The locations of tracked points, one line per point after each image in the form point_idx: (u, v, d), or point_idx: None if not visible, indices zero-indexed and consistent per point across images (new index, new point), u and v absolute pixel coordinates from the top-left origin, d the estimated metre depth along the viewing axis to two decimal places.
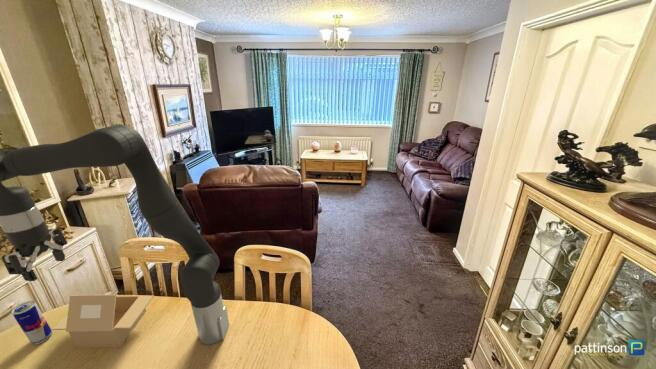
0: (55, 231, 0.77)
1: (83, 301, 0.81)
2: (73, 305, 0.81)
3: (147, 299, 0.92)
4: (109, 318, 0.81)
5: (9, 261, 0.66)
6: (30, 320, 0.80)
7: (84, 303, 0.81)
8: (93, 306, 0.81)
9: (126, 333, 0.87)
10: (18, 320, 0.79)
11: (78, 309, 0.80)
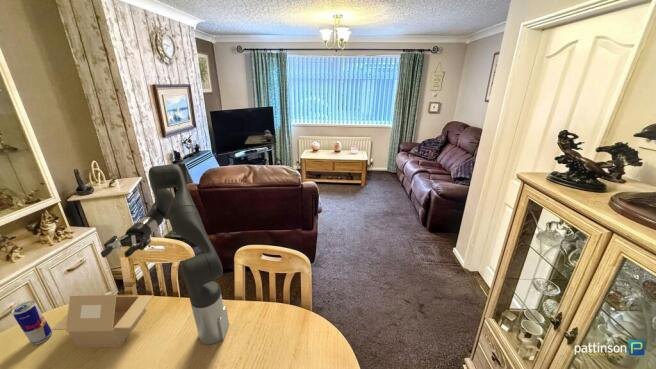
0: None
1: (83, 301, 0.81)
2: (73, 305, 0.81)
3: (147, 299, 0.92)
4: (109, 318, 0.81)
5: None
6: (30, 320, 0.80)
7: (84, 303, 0.81)
8: (93, 306, 0.81)
9: (126, 333, 0.87)
10: (18, 320, 0.79)
11: (78, 309, 0.80)
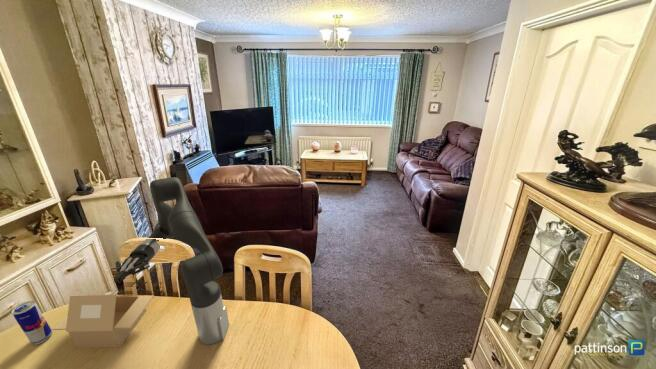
0: None
1: (83, 301, 0.81)
2: (73, 305, 0.81)
3: (147, 299, 0.92)
4: (109, 318, 0.81)
5: (116, 265, 0.98)
6: (30, 320, 0.80)
7: (84, 303, 0.81)
8: (93, 306, 0.81)
9: (126, 333, 0.87)
10: (18, 320, 0.79)
11: (78, 309, 0.80)
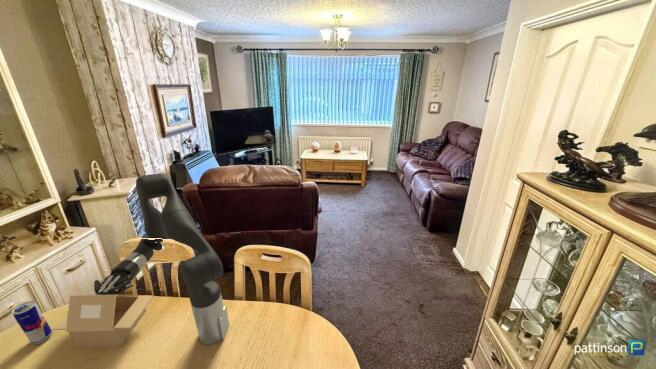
0: None
1: (83, 301, 0.81)
2: (73, 305, 0.81)
3: (147, 299, 0.92)
4: (109, 318, 0.81)
5: None
6: (30, 320, 0.80)
7: (84, 303, 0.81)
8: (93, 306, 0.81)
9: (126, 333, 0.87)
10: (18, 320, 0.79)
11: (78, 309, 0.80)
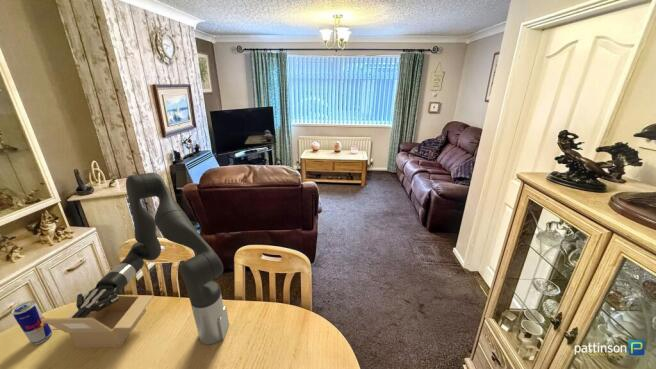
0: None
1: (60, 322, 0.74)
2: (53, 324, 0.74)
3: (147, 299, 0.92)
4: (101, 327, 0.78)
5: None
6: (30, 320, 0.80)
7: (63, 322, 0.74)
8: (75, 323, 0.75)
9: (126, 333, 0.87)
10: (18, 320, 0.79)
11: (62, 325, 0.75)
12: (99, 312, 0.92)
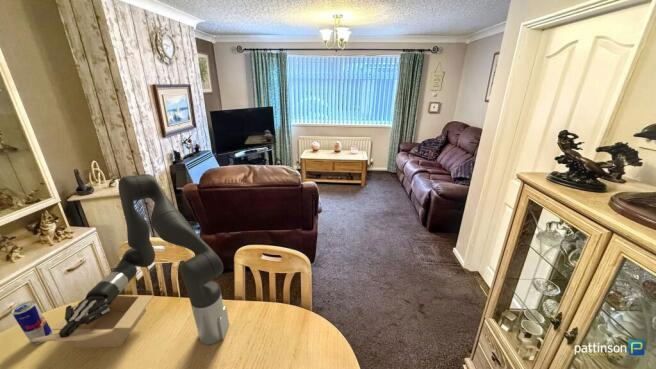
0: None
1: None
2: None
3: (147, 299, 0.92)
4: (99, 334, 0.77)
5: None
6: (30, 320, 0.80)
7: None
8: None
9: (126, 333, 0.87)
10: (18, 320, 0.79)
11: None
12: None
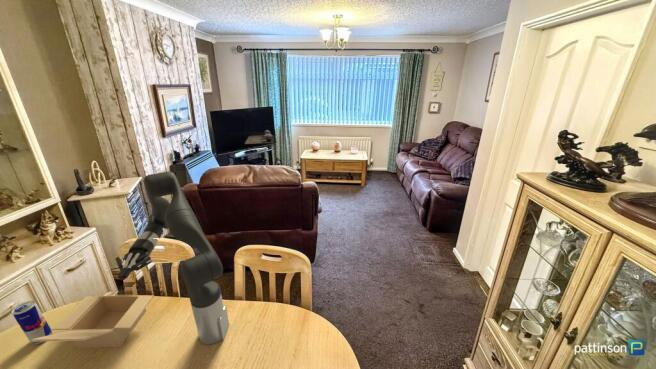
0: None
1: None
2: None
3: (147, 299, 0.92)
4: (99, 334, 0.77)
5: (116, 261, 0.97)
6: (29, 320, 0.80)
7: None
8: None
9: (126, 333, 0.87)
10: (18, 320, 0.79)
11: None
12: (99, 312, 0.92)
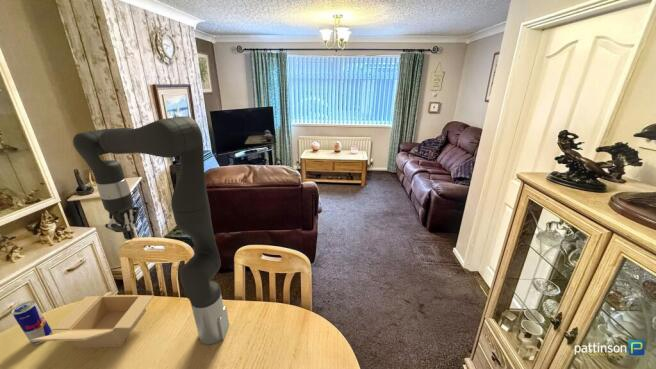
0: (135, 207, 0.88)
1: None
2: None
3: (147, 299, 0.92)
4: (99, 334, 0.77)
5: (113, 228, 0.79)
6: (30, 320, 0.80)
7: None
8: None
9: (126, 333, 0.87)
10: (18, 320, 0.79)
11: None
12: (99, 312, 0.92)
